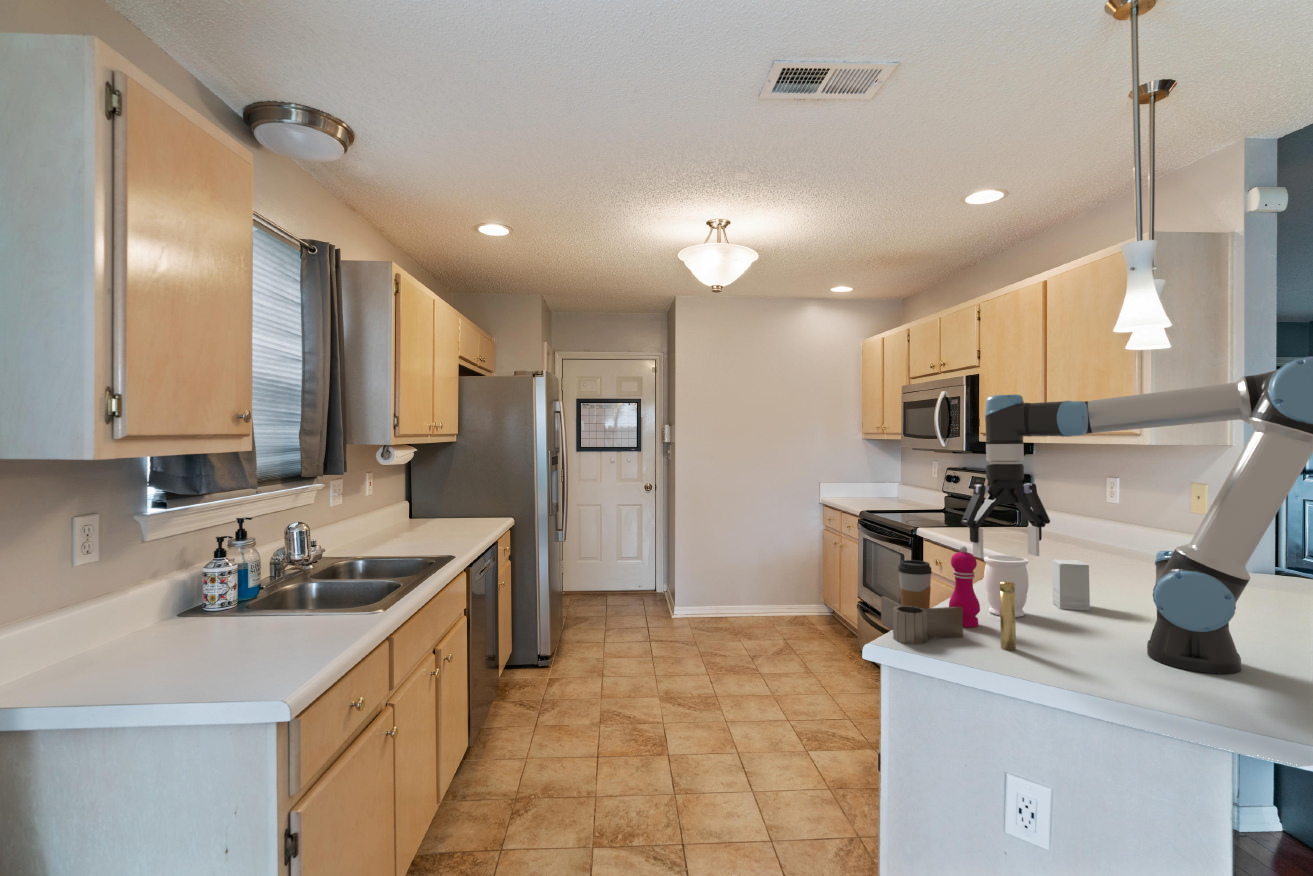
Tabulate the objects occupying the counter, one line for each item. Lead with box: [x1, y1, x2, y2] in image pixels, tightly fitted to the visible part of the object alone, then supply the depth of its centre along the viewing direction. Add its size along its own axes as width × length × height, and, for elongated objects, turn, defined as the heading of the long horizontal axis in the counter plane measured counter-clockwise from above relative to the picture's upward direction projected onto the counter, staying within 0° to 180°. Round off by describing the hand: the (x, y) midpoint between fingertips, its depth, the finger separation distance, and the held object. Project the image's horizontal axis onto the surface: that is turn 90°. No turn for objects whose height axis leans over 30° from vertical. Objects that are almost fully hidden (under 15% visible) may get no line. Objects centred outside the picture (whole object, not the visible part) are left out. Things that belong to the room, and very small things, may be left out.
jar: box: [983, 554, 1030, 618], centre depth 171 cm, size 11×10×15 cm
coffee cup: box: [897, 559, 933, 609], centre depth 166 cm, size 8×8×15 cm
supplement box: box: [1051, 559, 1091, 612], centre depth 177 cm, size 7×7×13 cm
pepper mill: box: [948, 545, 981, 628], centre depth 162 cm, size 7×7×20 cm
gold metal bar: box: [999, 581, 1017, 652], centre depth 143 cm, size 3×3×15 cm
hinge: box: [880, 595, 964, 645], centre depth 155 cm, size 17×17×7 cm
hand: (1006, 556), depth 143 cm, fingers open, 13 cm apart
